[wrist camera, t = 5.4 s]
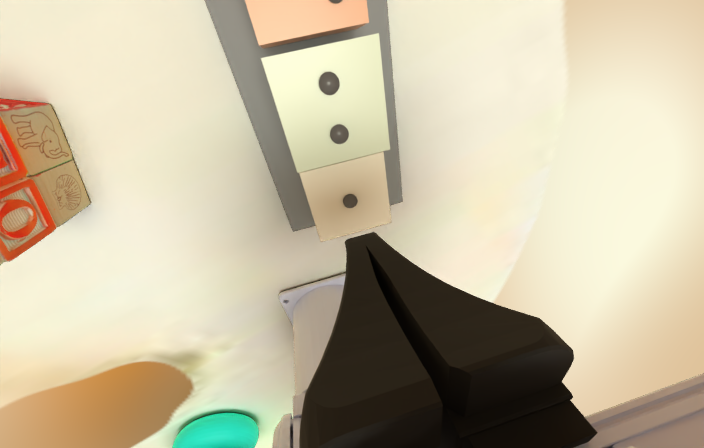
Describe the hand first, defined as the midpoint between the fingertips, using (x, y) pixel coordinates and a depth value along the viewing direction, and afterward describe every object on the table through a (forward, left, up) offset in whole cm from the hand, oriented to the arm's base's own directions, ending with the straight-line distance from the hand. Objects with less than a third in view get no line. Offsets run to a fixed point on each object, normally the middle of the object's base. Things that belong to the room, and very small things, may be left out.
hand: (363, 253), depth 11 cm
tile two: (+5, -1, -7) cm, 8 cm away
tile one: (0, -1, -8) cm, 8 cm away
